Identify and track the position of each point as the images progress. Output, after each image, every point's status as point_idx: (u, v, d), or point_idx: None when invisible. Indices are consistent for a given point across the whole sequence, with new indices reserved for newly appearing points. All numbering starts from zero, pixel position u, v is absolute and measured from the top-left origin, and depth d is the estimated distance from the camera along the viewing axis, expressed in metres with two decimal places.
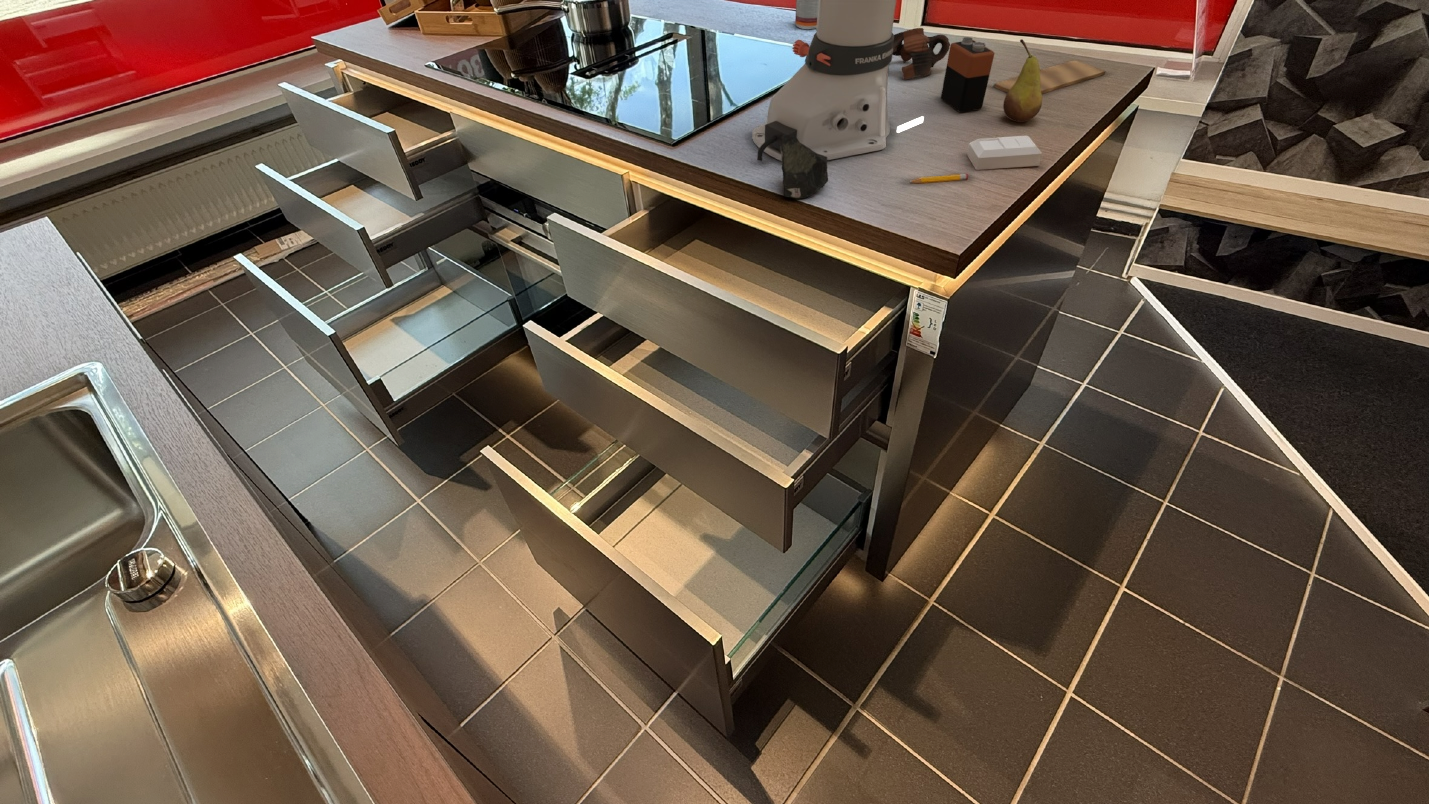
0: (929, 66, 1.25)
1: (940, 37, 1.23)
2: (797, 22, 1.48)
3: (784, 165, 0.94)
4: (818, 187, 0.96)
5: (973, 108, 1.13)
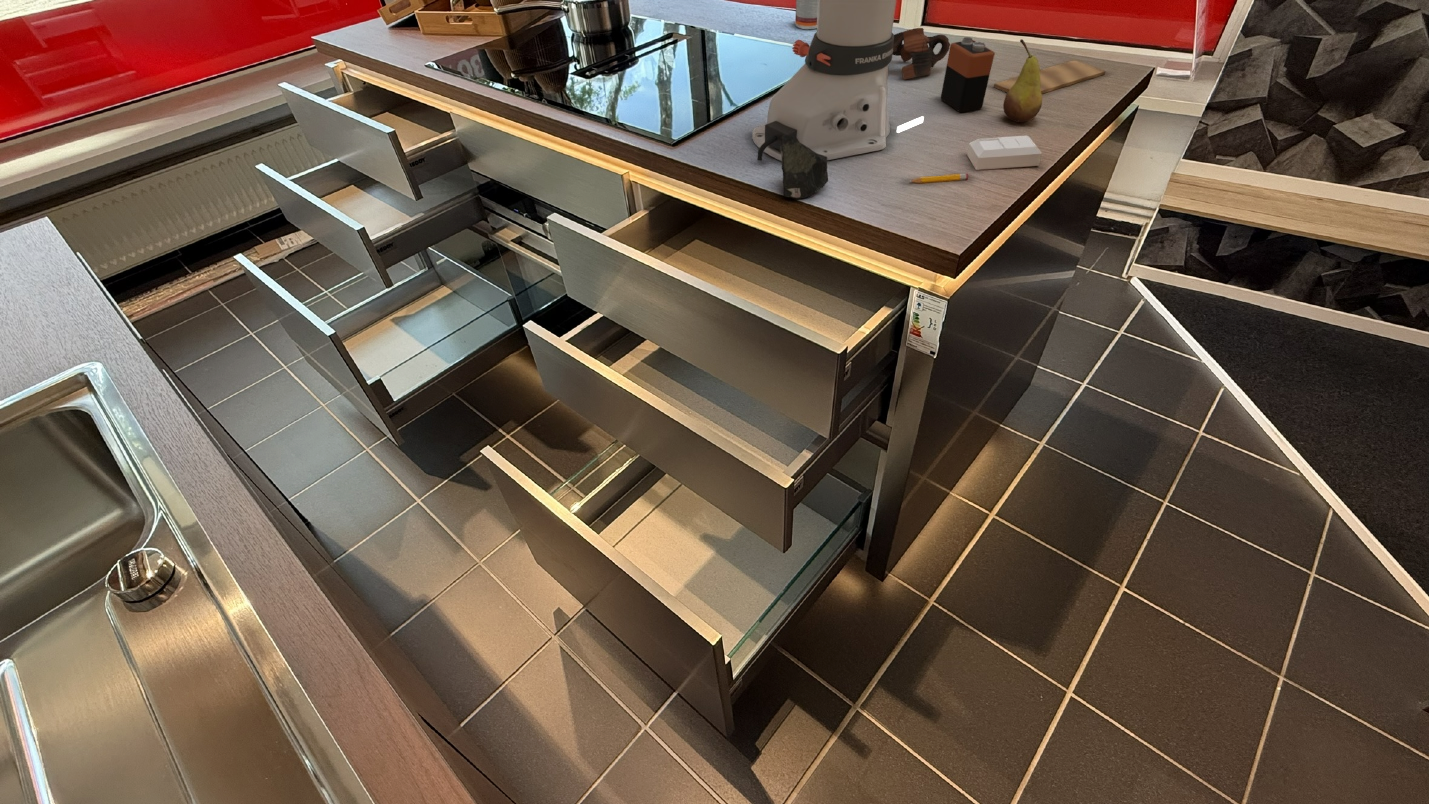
0: (929, 66, 1.25)
1: (940, 37, 1.23)
2: (797, 22, 1.48)
3: (784, 165, 0.94)
4: (818, 187, 0.96)
5: (973, 108, 1.13)
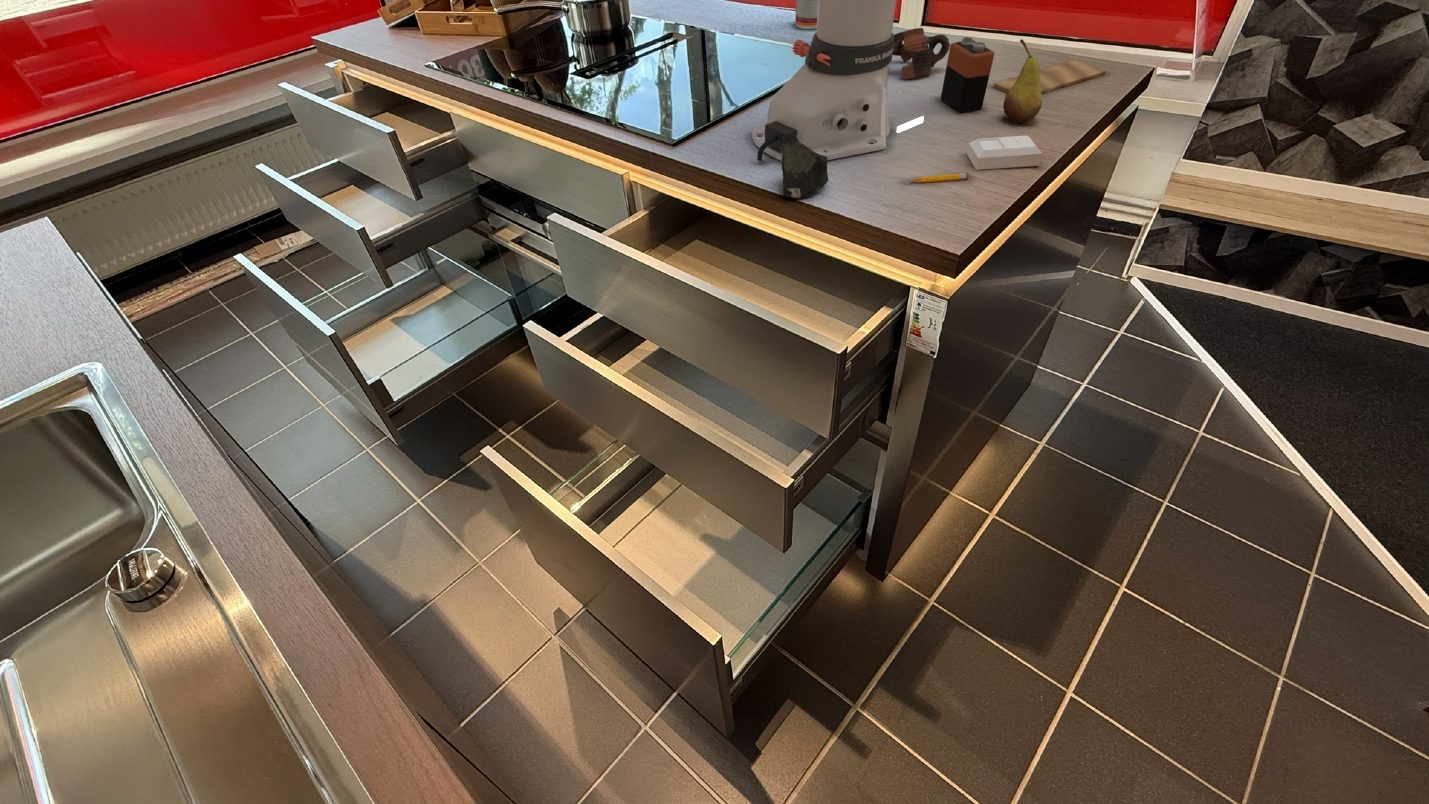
0: (929, 66, 1.25)
1: (940, 37, 1.23)
2: (797, 22, 1.48)
3: (784, 165, 0.94)
4: (818, 187, 0.96)
5: (973, 108, 1.13)
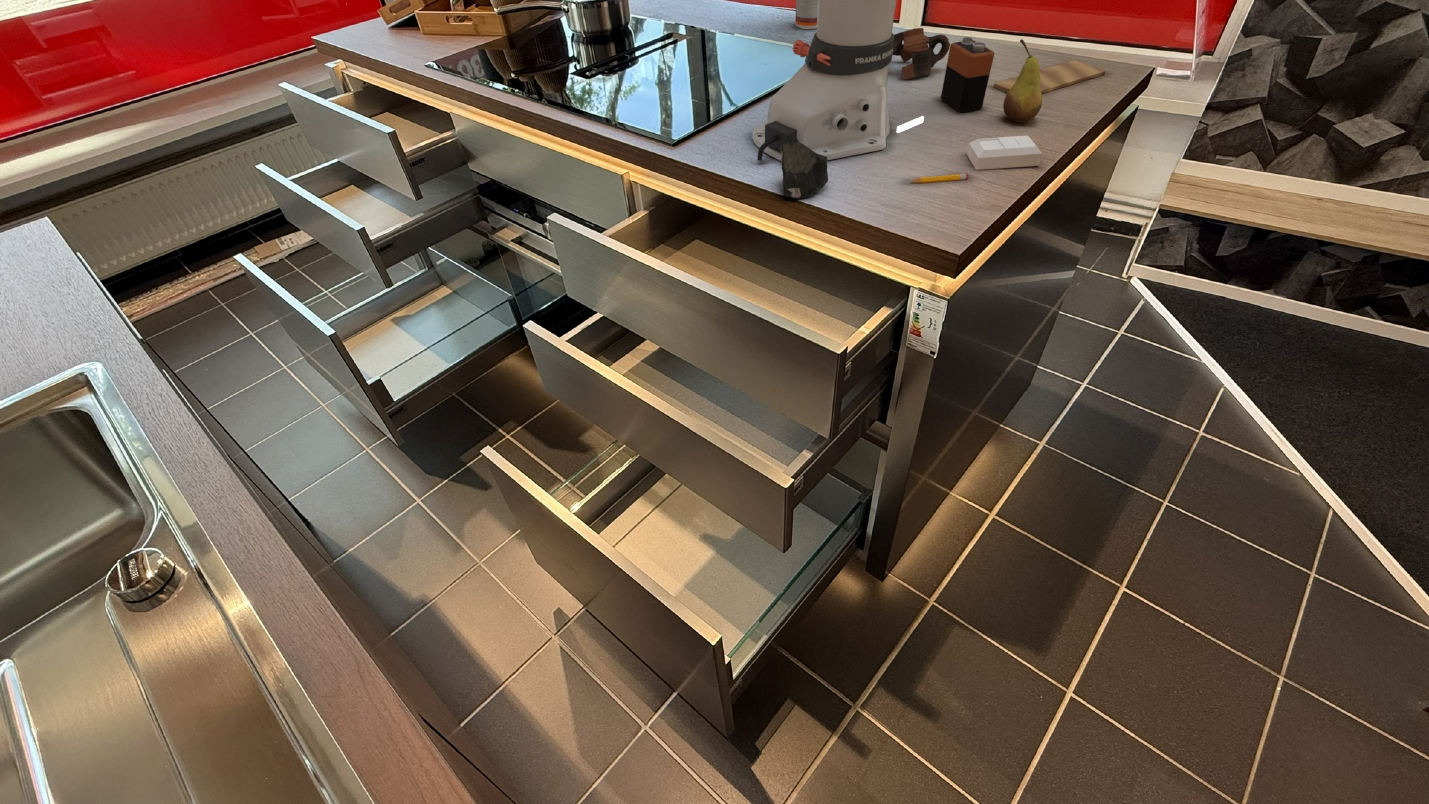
0: (929, 66, 1.25)
1: (940, 37, 1.23)
2: (797, 22, 1.48)
3: (784, 165, 0.94)
4: (818, 187, 0.96)
5: (973, 108, 1.13)
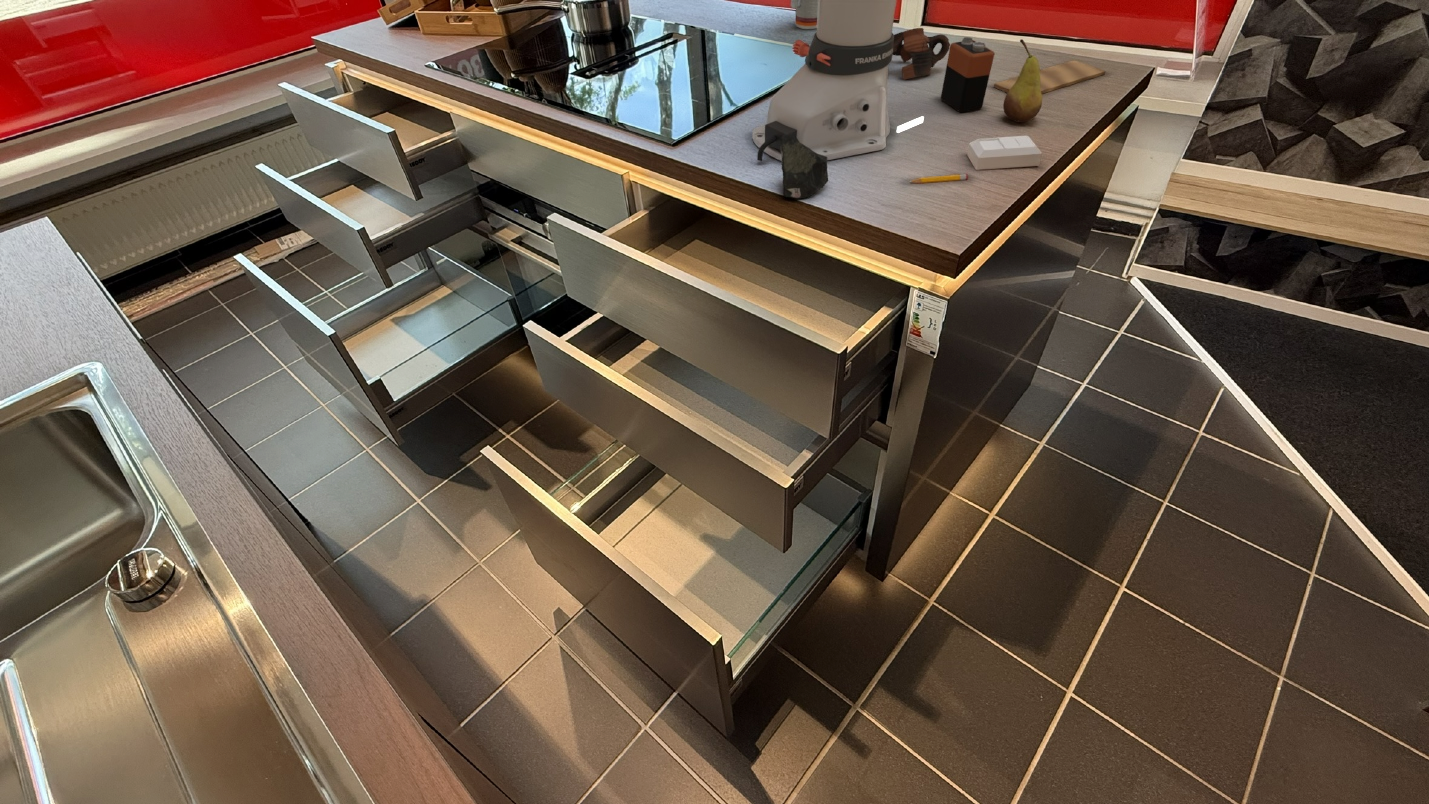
0: (929, 66, 1.25)
1: (940, 37, 1.23)
2: (797, 22, 1.48)
3: (784, 165, 0.94)
4: (818, 187, 0.96)
5: (973, 108, 1.13)
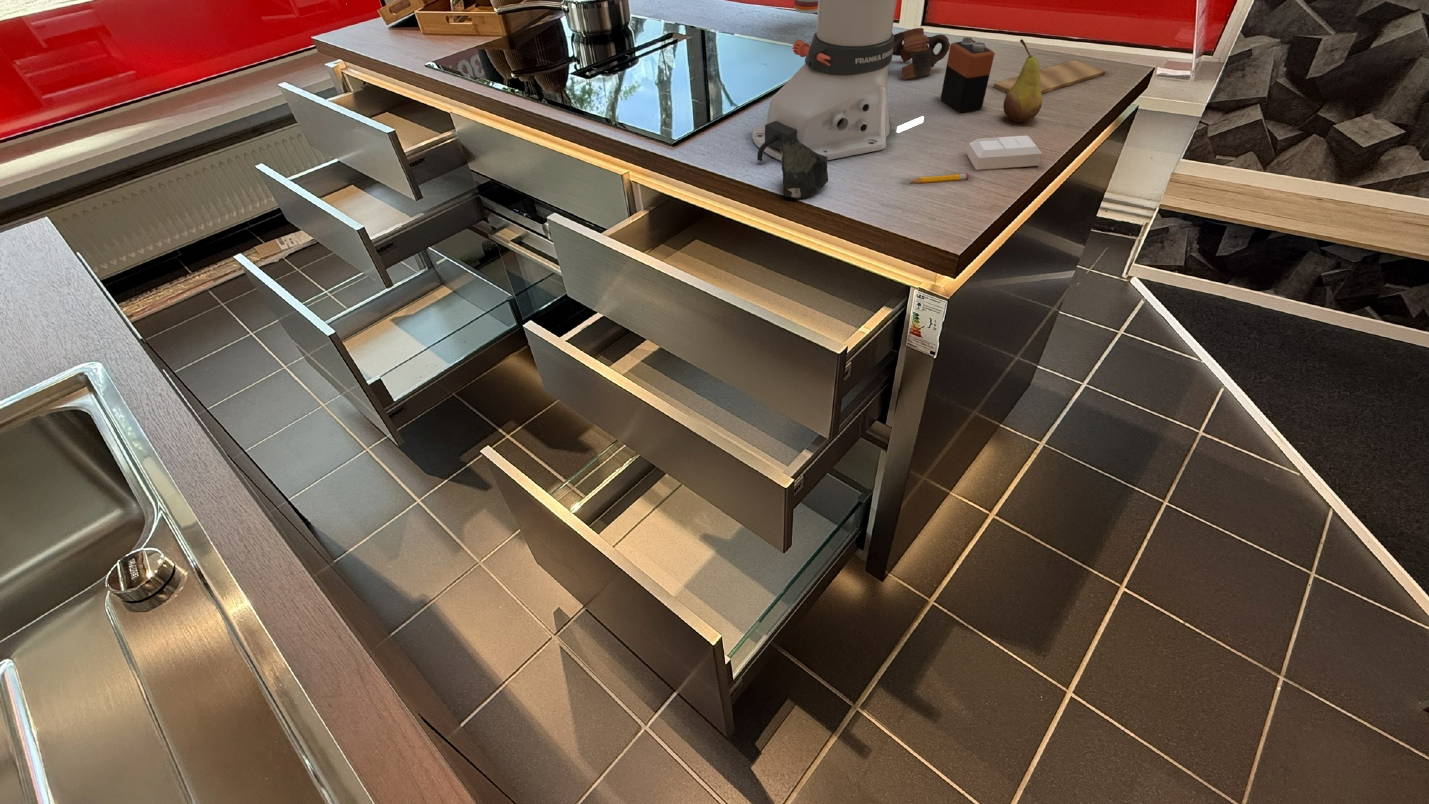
0: (929, 66, 1.25)
1: (940, 37, 1.23)
2: (796, 6, 1.46)
3: (784, 165, 0.94)
4: (818, 187, 0.96)
5: (973, 108, 1.13)
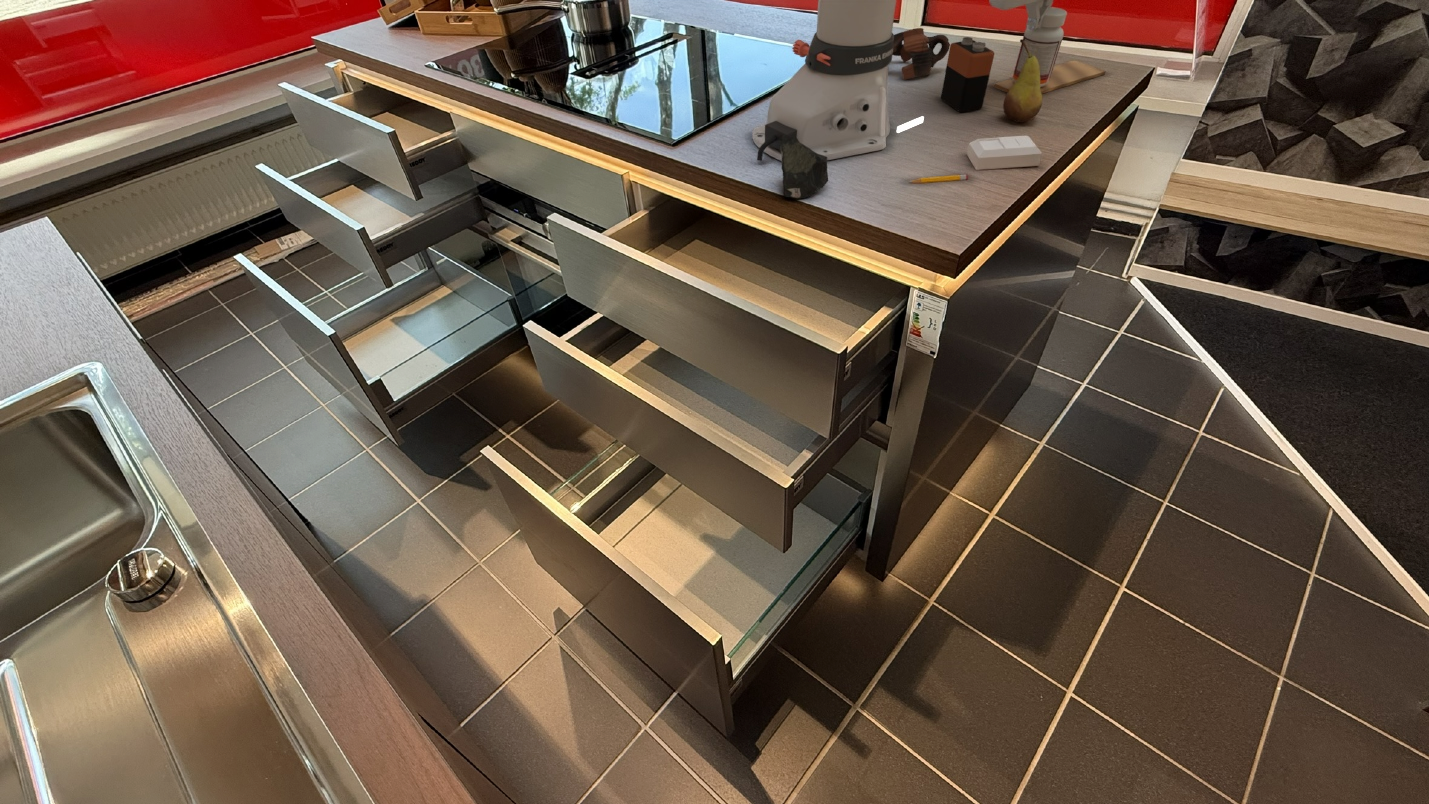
0: (929, 66, 1.25)
1: (940, 37, 1.23)
2: None
3: (784, 165, 0.94)
4: (818, 187, 0.96)
5: (973, 108, 1.13)
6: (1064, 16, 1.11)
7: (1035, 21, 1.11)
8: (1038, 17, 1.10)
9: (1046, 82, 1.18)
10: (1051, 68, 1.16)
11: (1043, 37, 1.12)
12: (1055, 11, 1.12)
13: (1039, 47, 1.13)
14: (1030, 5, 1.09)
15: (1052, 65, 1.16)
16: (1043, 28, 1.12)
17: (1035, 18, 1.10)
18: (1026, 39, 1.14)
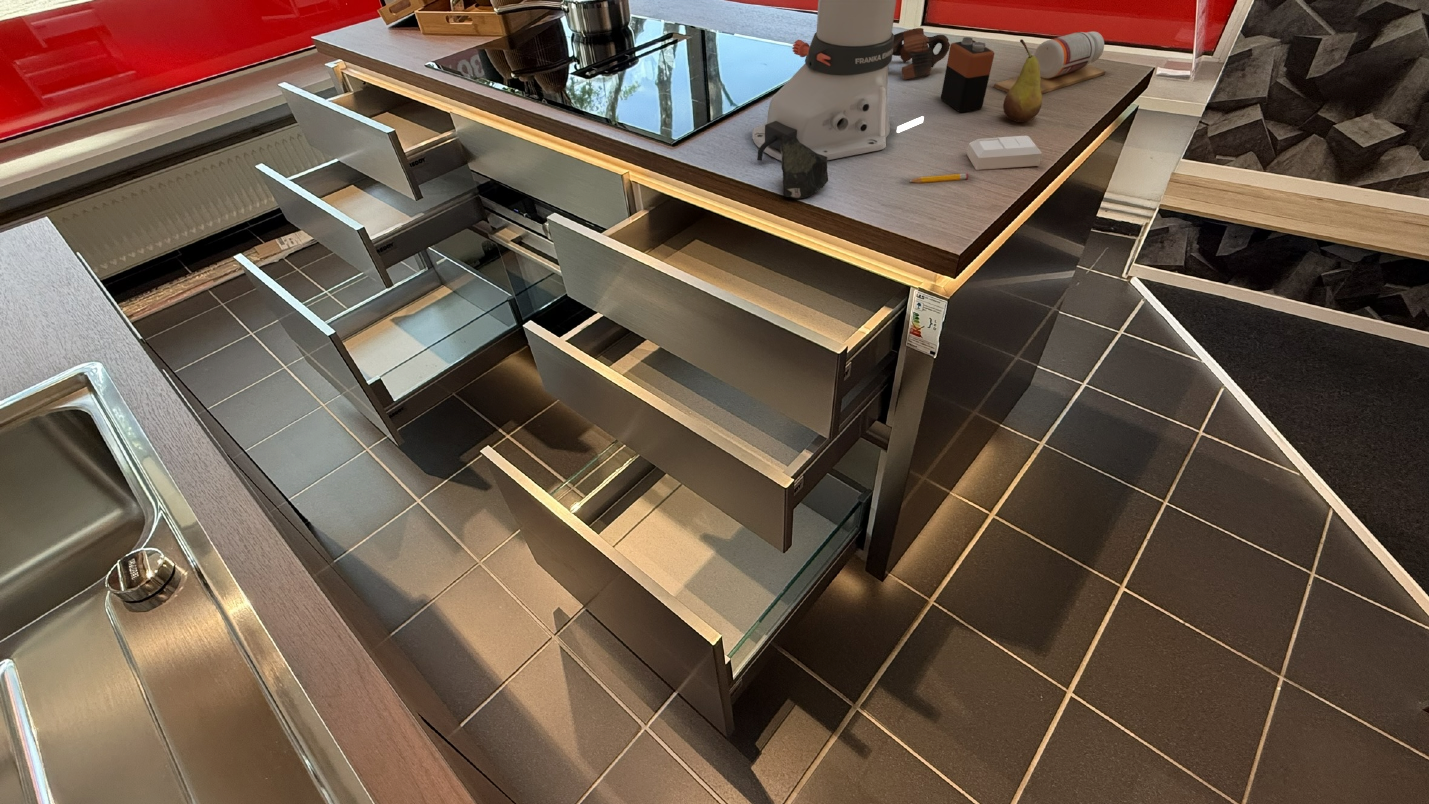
0: (929, 66, 1.25)
1: (940, 37, 1.23)
2: (1053, 39, 1.17)
3: (784, 165, 0.94)
4: (818, 187, 0.96)
5: (973, 108, 1.13)
6: (1101, 53, 1.21)
7: None
8: None
9: (1062, 65, 1.17)
10: (1071, 64, 1.18)
11: (1091, 38, 1.19)
12: None
13: (1085, 38, 1.18)
14: None
15: (1073, 63, 1.18)
16: None
17: None
18: None
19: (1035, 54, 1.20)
